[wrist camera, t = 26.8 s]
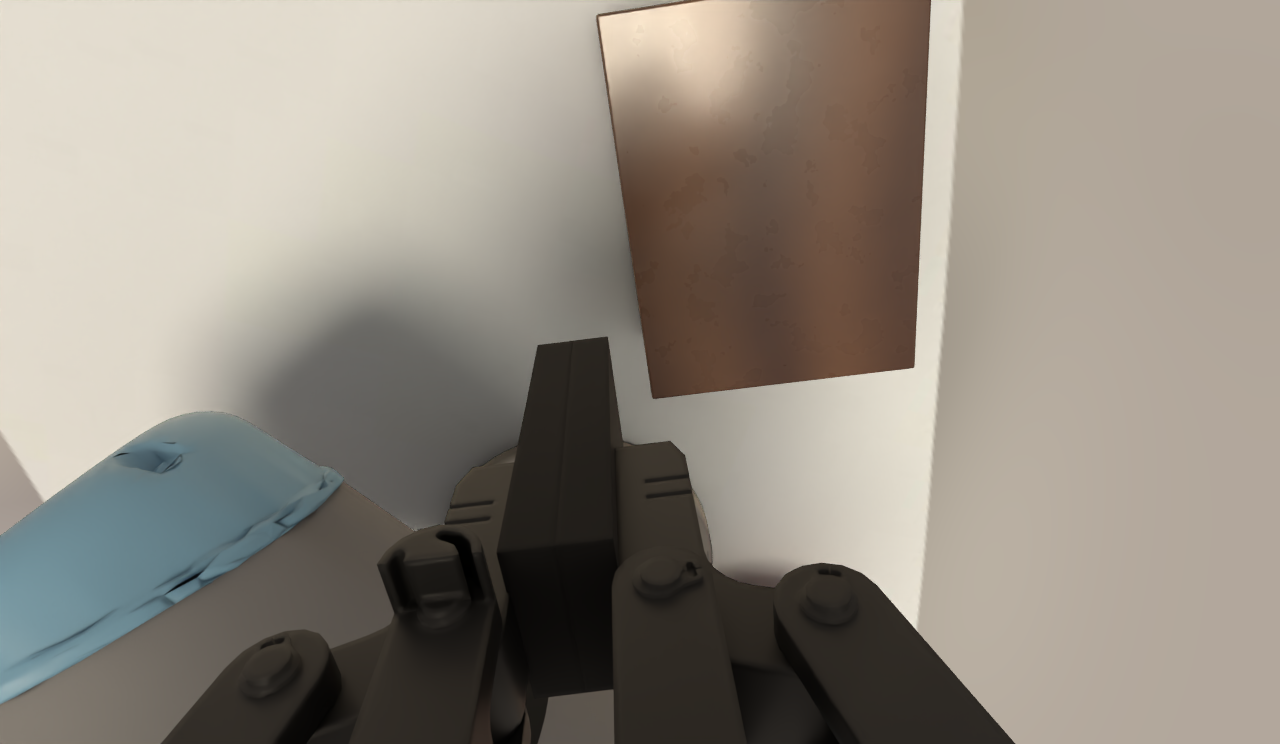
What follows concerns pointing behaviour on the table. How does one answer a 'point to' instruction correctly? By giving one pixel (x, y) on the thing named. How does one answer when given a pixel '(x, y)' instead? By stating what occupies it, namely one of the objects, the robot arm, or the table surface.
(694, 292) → the lid
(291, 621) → the robot arm
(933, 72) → the table surface
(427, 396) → the table surface
